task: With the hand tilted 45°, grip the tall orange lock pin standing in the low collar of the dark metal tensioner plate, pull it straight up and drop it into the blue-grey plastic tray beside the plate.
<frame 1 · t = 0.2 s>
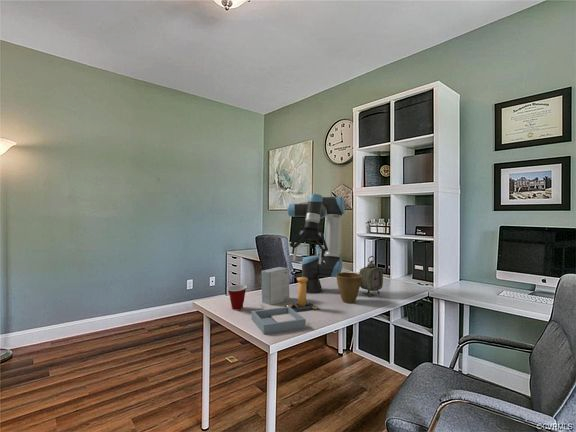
hand: (306, 262, 157), 27 cm above the table, tool tilted 15°, fingers open, 13 cm apart
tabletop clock: (370, 294, 198), on the table
lock pin: (302, 307, 165), point 1 cm above the table, touching tensioner bracket
plastic cup: (237, 308, 168), on the table
pin tray: (277, 323, 146), on the table
tensioner bracket: (302, 310, 165), on the table
hard drive box: (275, 303, 177), on the table
plant pot: (348, 301, 182), on the table
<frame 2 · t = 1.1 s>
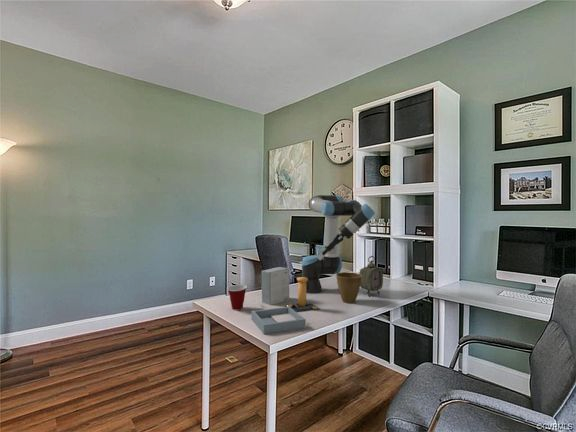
hand: (320, 256, 162), 30 cm above the table, tool tilted 45°, fingers open, 13 cm apart
nothing on the table moved.
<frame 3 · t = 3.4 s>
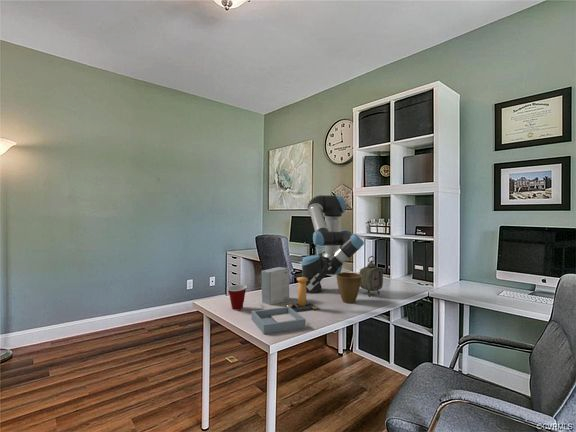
hand: (309, 285, 163), 14 cm above the table, tool tilted 45°, fingers open, 13 cm apart
nothing on the table moved.
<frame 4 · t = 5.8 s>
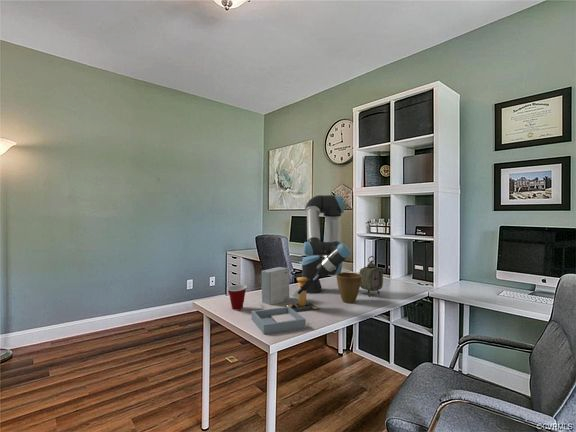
hand: (295, 295, 166), 8 cm above the table, tool tilted 45°, fingers closed on lock pin, 4 cm apart
lock pin: (302, 307, 165), point 2 cm above the table, touching gripper, tensioner bracket
everything else where it was.
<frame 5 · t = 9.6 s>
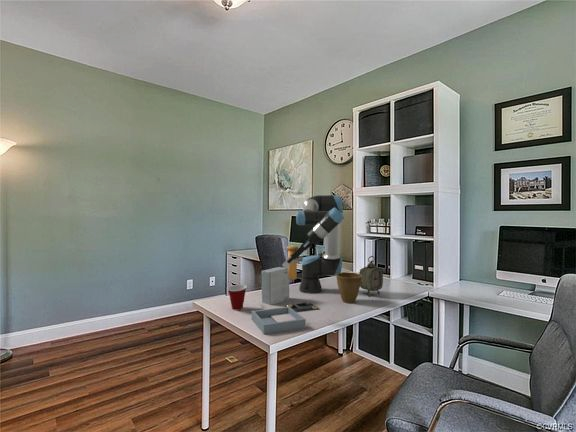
hand: (285, 265, 154), 26 cm above the table, tool tilted 45°, fingers closed on lock pin, 4 cm apart
lock pin: (292, 278, 153), point 20 cm above the table, touching gripper
everything else where it was.
when the fingers open (9 cm above the table, at t = 13.4 s): lock pin drops 2 cm, resting on pin tray.
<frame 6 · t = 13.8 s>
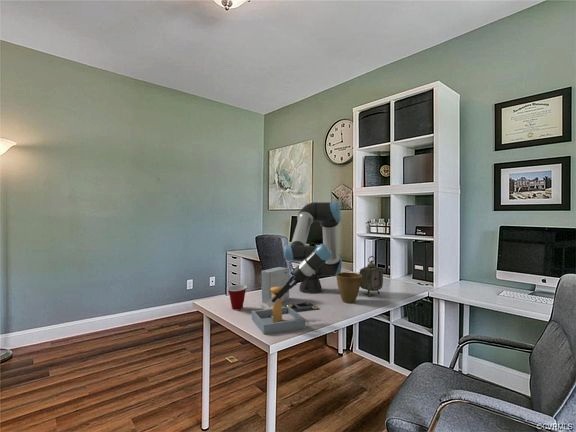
hand: (271, 302, 146), 10 cm above the table, tool tilted 45°, fingers open, 9 cm apart
lock pin: (277, 321, 146), point 1 cm above the table, touching pin tray
everything else where it was.
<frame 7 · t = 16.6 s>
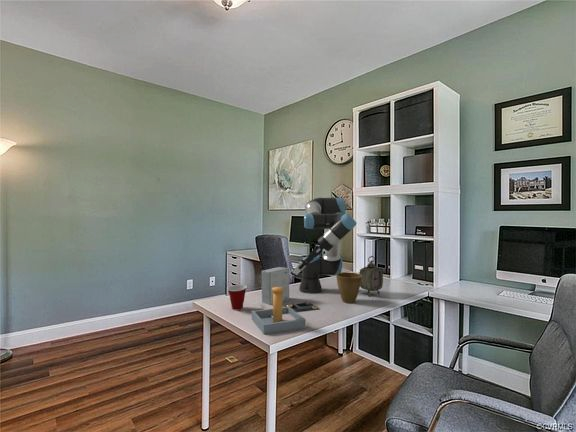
hand: (297, 269, 149), 25 cm above the table, tool tilted 45°, fingers open, 13 cm apart
nothing on the table moved.
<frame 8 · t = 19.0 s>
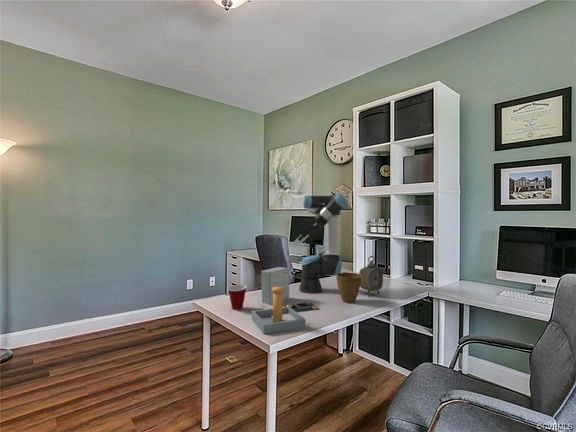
hand: (297, 242, 173), 36 cm above the table, tool tilted 45°, fingers open, 13 cm apart
nothing on the table moved.
at the end: lock pin inside the target area on the pin tray (0.1 cm from its centre), point 0.8 cm above the pin tray's base; the gripper is holding nothing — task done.
